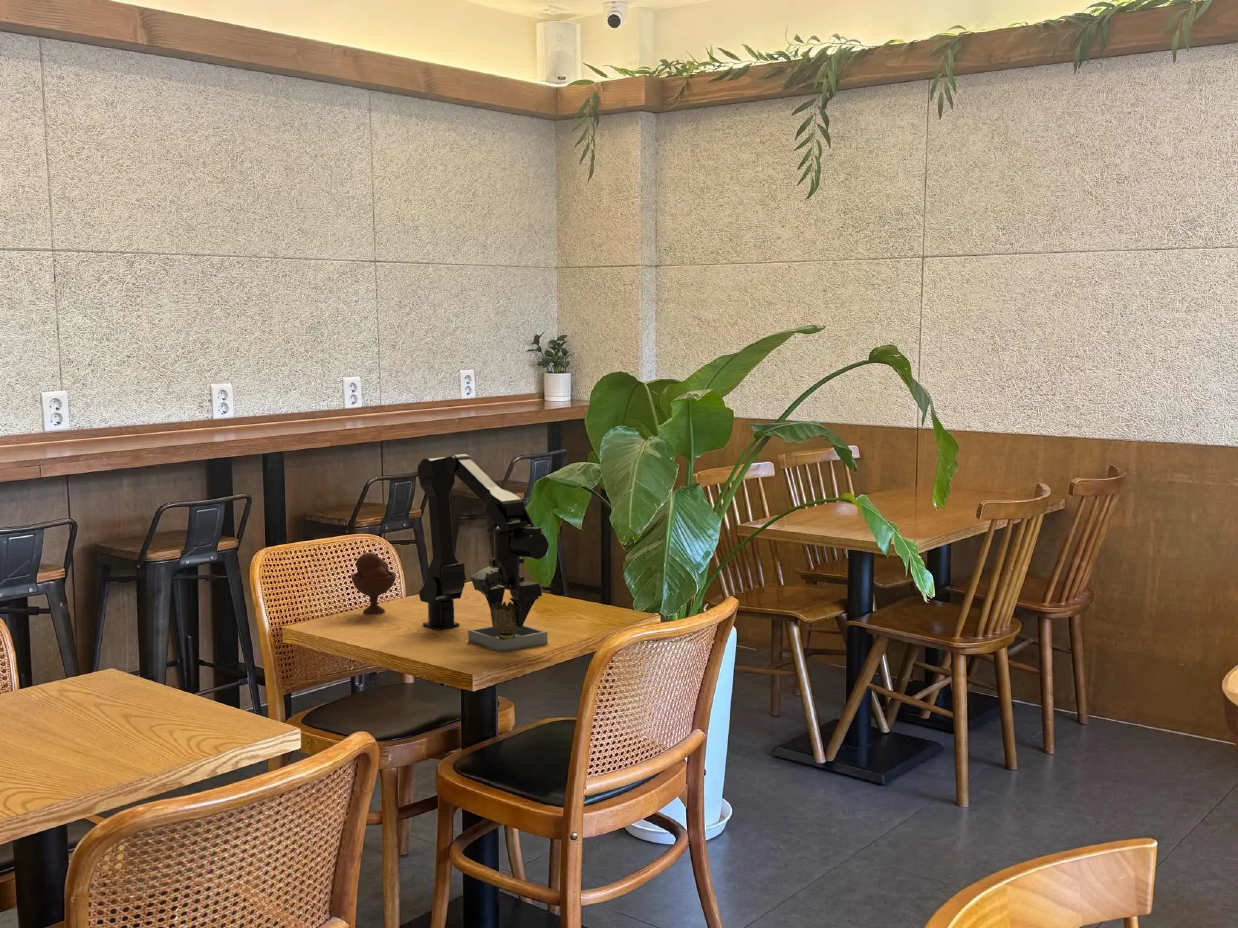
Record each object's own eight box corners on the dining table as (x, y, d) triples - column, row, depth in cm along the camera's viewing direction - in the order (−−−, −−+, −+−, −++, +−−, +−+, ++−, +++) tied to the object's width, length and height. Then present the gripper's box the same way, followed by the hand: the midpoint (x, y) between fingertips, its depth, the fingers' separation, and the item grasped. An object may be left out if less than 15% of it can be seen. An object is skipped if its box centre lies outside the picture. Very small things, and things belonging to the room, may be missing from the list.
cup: (517, 644, 269) (517, 608, 268) (485, 642, 271) (485, 607, 270) (527, 636, 276) (527, 601, 275) (496, 635, 278) (496, 600, 277)
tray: (468, 641, 274) (468, 630, 274) (514, 632, 282) (514, 622, 282) (500, 652, 265) (500, 640, 264) (547, 643, 273) (547, 631, 272)
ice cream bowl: (392, 617, 298) (391, 556, 297) (346, 616, 298) (345, 555, 297) (400, 607, 309) (399, 548, 307) (356, 607, 309) (355, 548, 307)
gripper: (453, 552, 273) (454, 621, 275) (501, 564, 259) (501, 636, 261) (494, 547, 281) (495, 614, 282) (543, 558, 266) (543, 628, 268)
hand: (507, 623), depth 273 cm, fingers open, 9 cm apart
